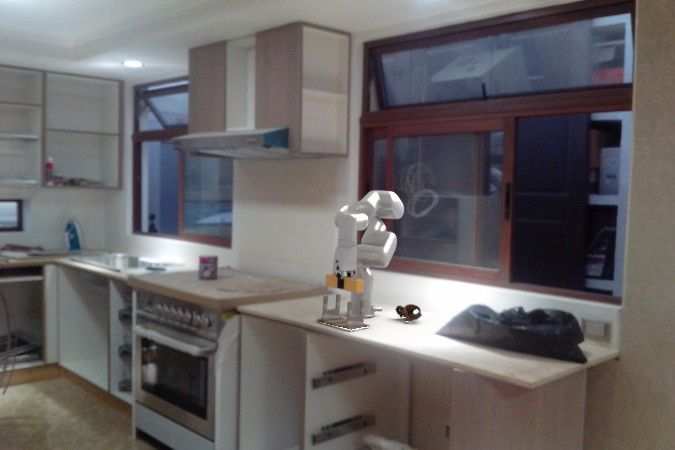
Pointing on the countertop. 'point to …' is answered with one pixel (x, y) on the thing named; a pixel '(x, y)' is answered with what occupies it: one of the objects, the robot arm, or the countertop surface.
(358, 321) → the cradle
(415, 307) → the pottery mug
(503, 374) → the countertop surface
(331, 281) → the orange rectangular bar
